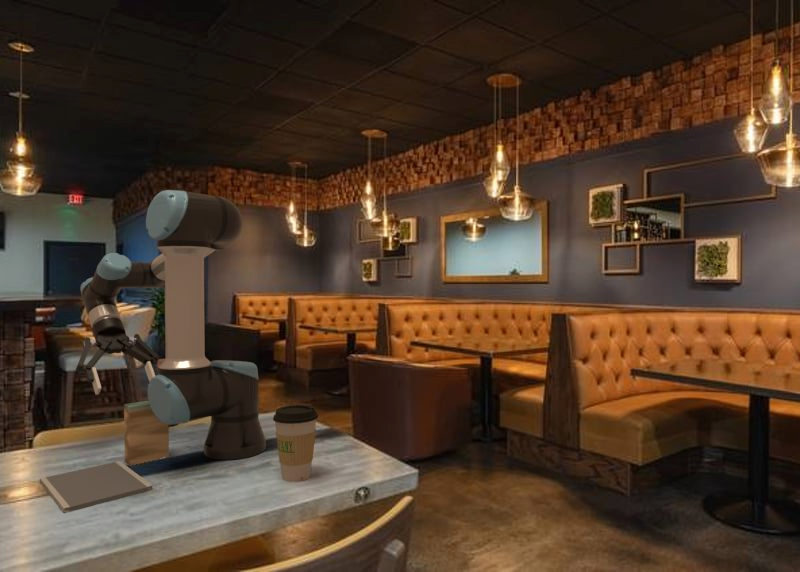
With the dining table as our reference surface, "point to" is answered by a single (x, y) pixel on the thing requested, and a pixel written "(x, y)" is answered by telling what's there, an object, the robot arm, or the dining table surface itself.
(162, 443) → the oak slab
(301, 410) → the coffee cup
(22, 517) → the dining table surface
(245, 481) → the dining table surface
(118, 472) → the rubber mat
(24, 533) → the dining table surface
